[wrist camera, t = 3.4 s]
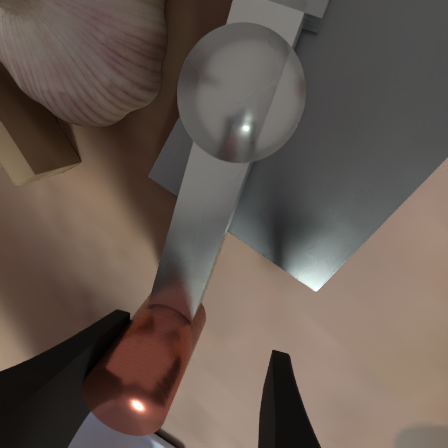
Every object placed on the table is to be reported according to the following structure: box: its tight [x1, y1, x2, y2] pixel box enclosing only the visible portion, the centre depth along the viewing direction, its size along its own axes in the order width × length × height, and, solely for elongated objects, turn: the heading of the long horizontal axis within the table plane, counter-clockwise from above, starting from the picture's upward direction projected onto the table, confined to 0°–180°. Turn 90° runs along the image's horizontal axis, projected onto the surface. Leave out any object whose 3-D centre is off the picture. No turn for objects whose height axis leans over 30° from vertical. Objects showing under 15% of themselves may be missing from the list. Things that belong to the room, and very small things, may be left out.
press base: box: [148, 0, 448, 292], centre depth 12 cm, size 11×9×2 cm
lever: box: [82, 0, 330, 436], centre depth 10 cm, size 16×4×6 cm, turn 162°
